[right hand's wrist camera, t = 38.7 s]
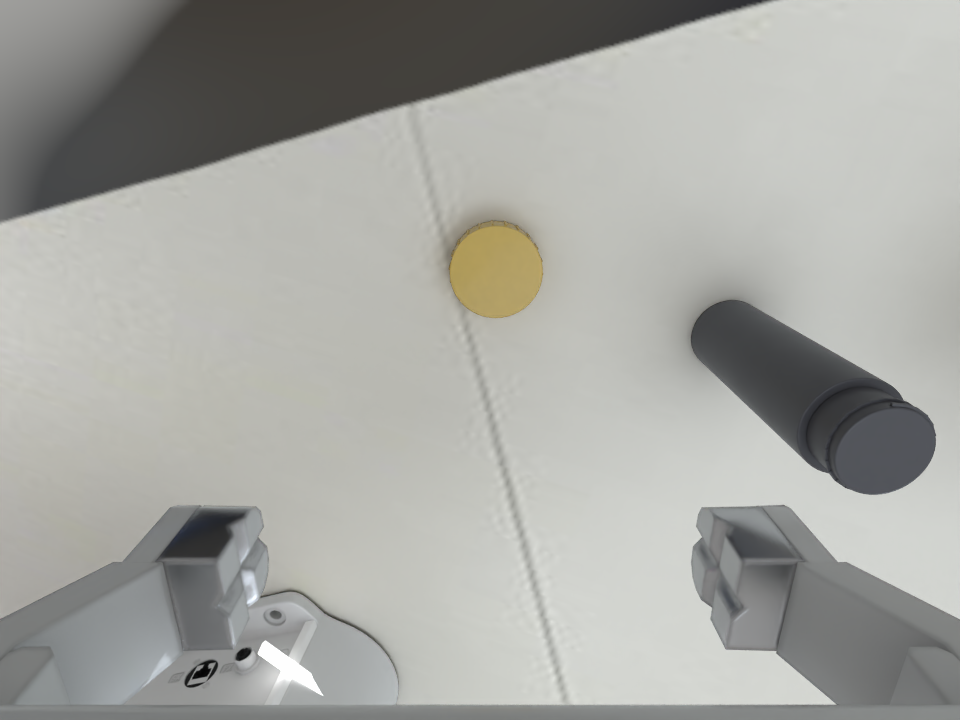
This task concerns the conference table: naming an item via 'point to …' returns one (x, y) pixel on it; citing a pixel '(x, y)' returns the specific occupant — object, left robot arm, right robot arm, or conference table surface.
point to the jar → (816, 399)
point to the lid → (495, 269)
